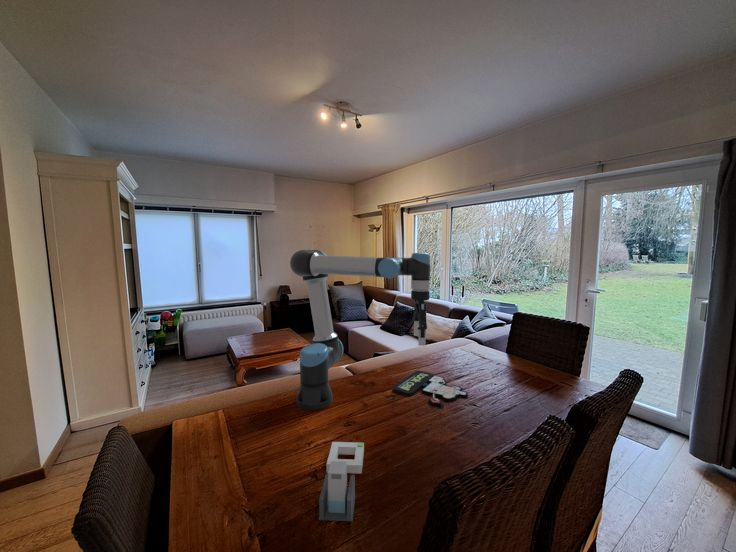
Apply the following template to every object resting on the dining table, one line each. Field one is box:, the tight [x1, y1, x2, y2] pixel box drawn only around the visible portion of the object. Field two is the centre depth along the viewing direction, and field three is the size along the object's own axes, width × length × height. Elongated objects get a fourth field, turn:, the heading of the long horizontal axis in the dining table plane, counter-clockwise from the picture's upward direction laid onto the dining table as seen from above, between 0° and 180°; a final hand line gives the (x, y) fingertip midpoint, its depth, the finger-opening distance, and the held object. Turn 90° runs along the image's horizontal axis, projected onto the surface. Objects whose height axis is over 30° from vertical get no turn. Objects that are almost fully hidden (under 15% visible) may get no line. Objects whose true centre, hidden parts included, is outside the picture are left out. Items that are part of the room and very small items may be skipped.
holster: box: [318, 473, 357, 522], centre depth 73 cm, size 8×8×6 cm
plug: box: [327, 461, 348, 513], centre depth 73 cm, size 4×4×10 cm
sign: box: [392, 370, 469, 409], centre depth 136 cm, size 27×2×30 cm
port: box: [326, 441, 365, 474], centre depth 89 cm, size 10×10×3 cm
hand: (419, 340), depth 125 cm, fingers open, 13 cm apart
